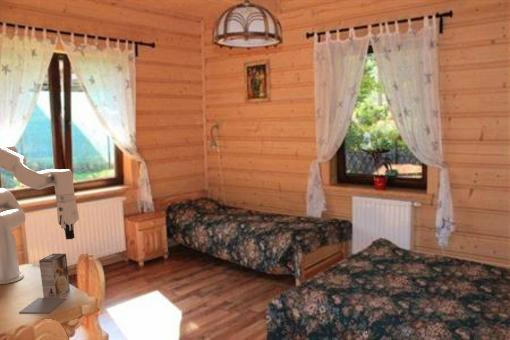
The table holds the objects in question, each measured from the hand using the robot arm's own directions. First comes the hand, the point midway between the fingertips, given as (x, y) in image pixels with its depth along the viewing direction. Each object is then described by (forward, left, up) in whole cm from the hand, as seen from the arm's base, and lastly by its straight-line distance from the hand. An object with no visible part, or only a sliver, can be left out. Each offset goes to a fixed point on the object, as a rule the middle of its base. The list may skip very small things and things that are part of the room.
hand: (70, 238), depth 198 cm
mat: (0, -25, -20) cm, 32 cm away
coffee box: (-1, -14, -20) cm, 24 cm away
